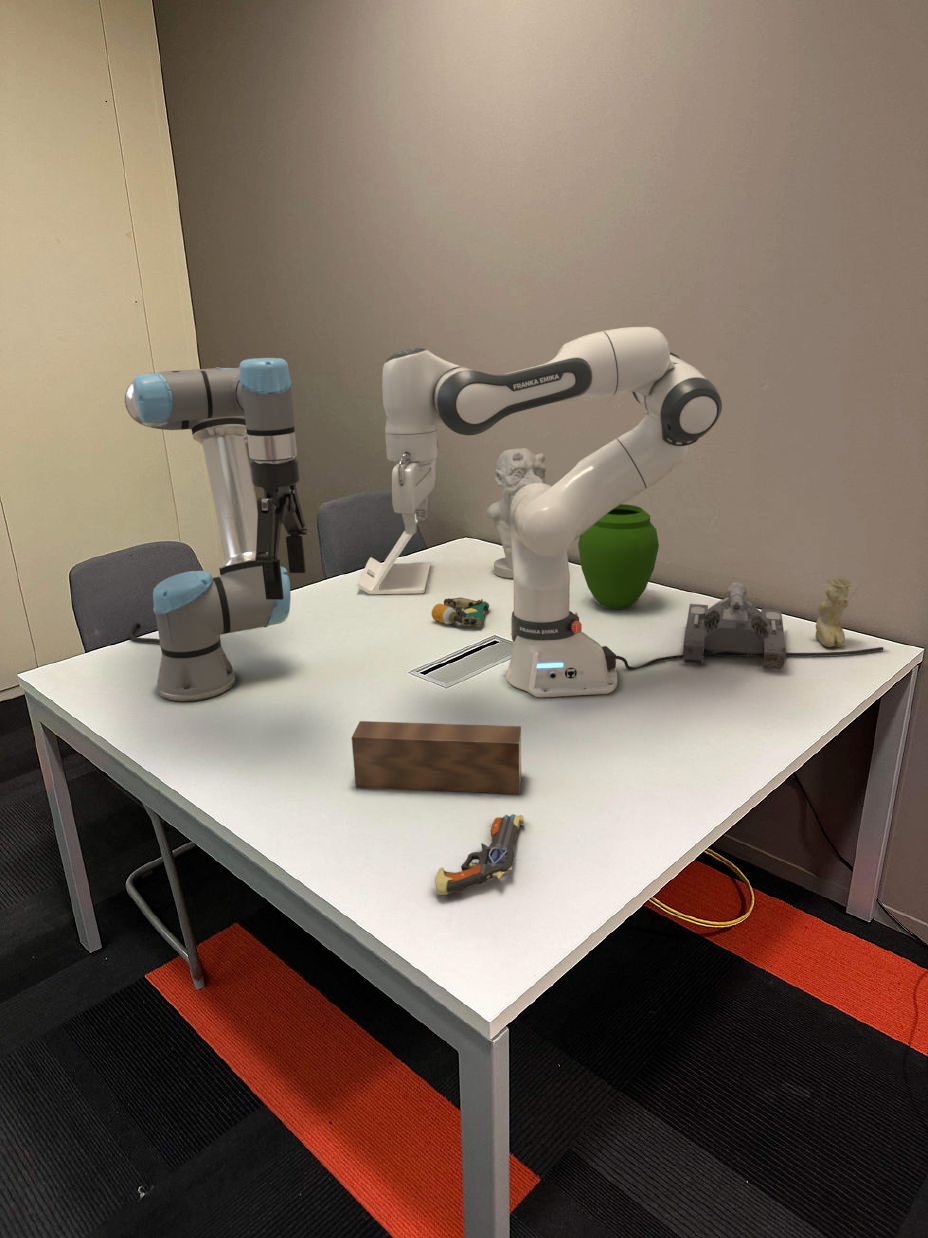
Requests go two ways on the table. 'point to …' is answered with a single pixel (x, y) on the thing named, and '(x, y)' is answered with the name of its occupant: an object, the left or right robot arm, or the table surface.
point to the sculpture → (832, 613)
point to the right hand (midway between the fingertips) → (416, 526)
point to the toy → (735, 630)
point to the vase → (619, 556)
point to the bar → (437, 757)
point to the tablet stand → (394, 573)
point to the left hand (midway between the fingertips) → (286, 585)
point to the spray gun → (460, 611)
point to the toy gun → (484, 858)
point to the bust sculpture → (512, 476)
